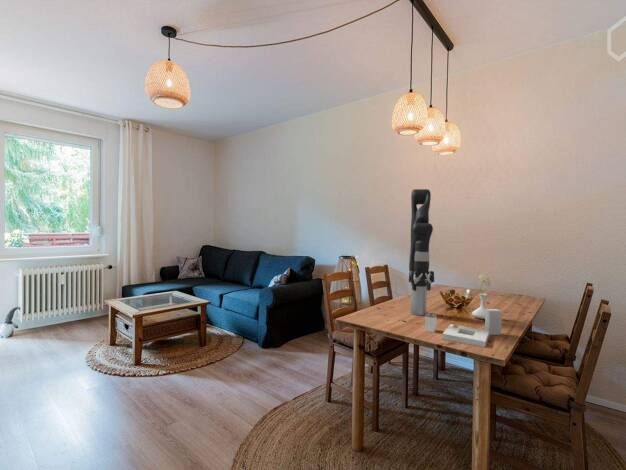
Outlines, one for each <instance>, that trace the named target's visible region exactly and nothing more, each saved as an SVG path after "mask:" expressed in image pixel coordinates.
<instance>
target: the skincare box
mask: <svg viewBox="0 0 626 470" xmlns="http://www.w3.org/2000/svg"><path fill="white" fill-rule="evenodd" d="M484 320H485V321H484V322H485V323H484V330H488V331H490V332H489V336H500V335H502V310H500V309H498V308H487V309H485V319H484Z"/></svg>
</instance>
